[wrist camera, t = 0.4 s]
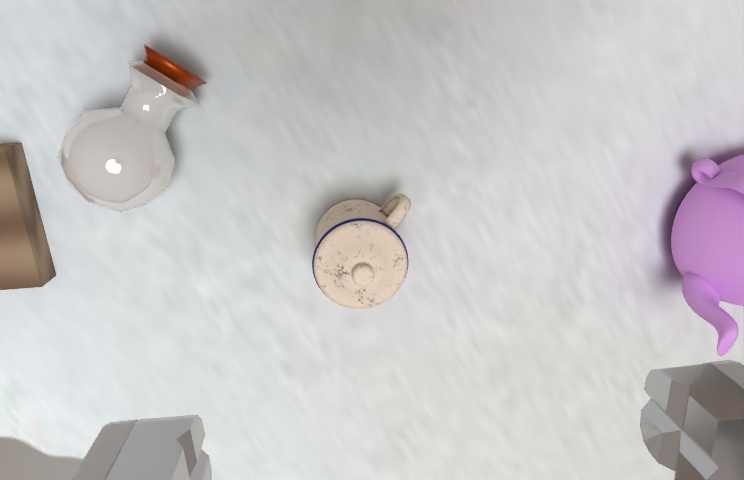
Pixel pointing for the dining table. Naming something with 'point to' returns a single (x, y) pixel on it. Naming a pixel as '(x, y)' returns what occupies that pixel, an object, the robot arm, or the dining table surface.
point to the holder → (21, 226)
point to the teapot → (712, 244)
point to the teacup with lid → (361, 252)
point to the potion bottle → (129, 138)
